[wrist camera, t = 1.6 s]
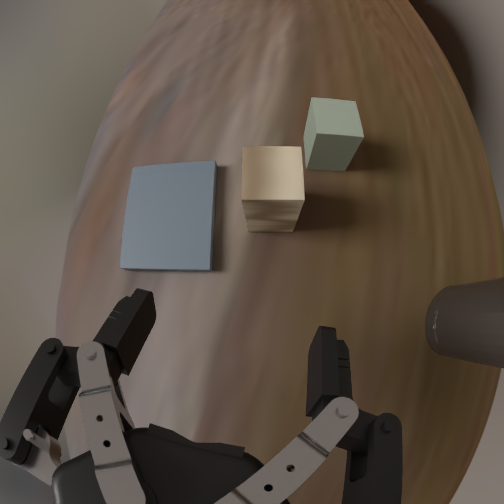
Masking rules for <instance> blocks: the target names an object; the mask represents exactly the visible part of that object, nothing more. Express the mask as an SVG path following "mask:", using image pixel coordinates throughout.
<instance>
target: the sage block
mask: <svg viewBox="0 0 504 504" xmlns="http://www.w3.org/2000/svg"><path fill="white" fill-rule="evenodd" d="M363 138H364V135H363V130H362V126H361V122H360V117H359V113H358V109H357V105H356V102H355V101H347V100H338V99H327V98H313V97H312V98H311V103H310V108H309V113H308V117H307V122H306V127H305V132H304V148H305V159H306V170H332V171H345V170H346V169H347V167H348V165H349V163H350V162H351V160H352V158H353V156H354V154H355V153H356V151H357V149H358V147H359V145H360V144H361V142H362V140H363Z"/></svg>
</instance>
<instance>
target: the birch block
mask: <svg viewBox="0 0 504 504" xmlns="http://www.w3.org/2000/svg"><path fill="white" fill-rule="evenodd" d="M304 201H305V195H304V179H303V165H302V153H301V147H286V146H251V147H243V163H242V204H243V208H244V213H245V217H246V222H247V227H248V231H249V232H293V230H294V227H295V225H296V222H297V219H298V217H299V214H300V211H301V209H302V206H303V203H304Z"/></svg>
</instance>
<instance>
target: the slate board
mask: <svg viewBox="0 0 504 504" xmlns="http://www.w3.org/2000/svg"><path fill="white" fill-rule="evenodd" d="M216 178H217V164H216V161H198V162H183V163H171V164H160V165H150V166H141V167H133V169H132V174H131V180H130V186H129V192H128V198H127V205H126V212H125V219H124V228H123V236H122V246H121V258H120V268H121V269H125V270H159V271H212V267H213V237H214V214H215V195H216Z"/></svg>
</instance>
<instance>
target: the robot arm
mask: <svg viewBox="0 0 504 504" xmlns="http://www.w3.org/2000/svg"><path fill="white" fill-rule="evenodd" d="M155 320H156V309H155V303H154V297H153V293H152V292H151V291H147V290H143V289H139V288H138V289H136V290H135V291H134V293H133V294H132V296H131V297H128V296H126V297H124V298H123V299H122V300H120V301H119V302H118V303H117V304H116V306H115V307H114V309H113V311H112V312H111V313H110V315H109V318H107V320H106V321H105V323H104V324H103V326H102V327H101V329H100V330H99V332H98V334H97V335H96V337H95V338H94V340H93V341H90V342H86V343H84V344H82V345H81V346H80V347H69V346H63V344H62V342H61V341H60V340H59V339H56V338H49V339H47V340H45V341H44V342H43V343H42V344H41V346H40V348H39V349H38V351H37V352H36V354H35V356H34V357H33V359H32V361H31V363H30V365H29V366H28V368H27V370H26V372H25V373H24V375H23V377H22V379H21V381H20V383H19V385H18V387H17V388H16V390H15V392H14V394H13V397H12V399H11V401H10V403H9V405H8V407H7V409H6V411H5V413H4V415H3V418H2V420H1V422H0V456H1V457H3V458H4V459H6V460H8V461H10V462H11V463H12V464H15V465H16V466H18V467H20V468H22V469H25V470H27V471H28V472H30V473H31V474H33V475H34V476H36V477H37V478H39V479H40V480H42V481H43V482H45V483H47V484H48V485H50V486H51V487H52V493H53V499H54V504H290V503H289V501H288V500H287V497H288V496H289V495H290V494H291V493H293V492H294V491H295V490H296V489H297V488H298V487H299V486H300V485H301V484H302V483H303V482H304V481H305V480H306V479H307V478H308V477H309V476H310V475H311V474H312V473H313V472H314V471H315V470H316V469H317V468H318V467H319V466H320V465H321V464H322V462H323V461H324V460H325V459H326V458H327V456H328V454H329V452H330V451H331V450H332V449H333V448H334V447H335V446H337V447H339V448H342V449H345V450H347V462H346V472H345V482H344V490H343V498H342V504H401V494H402V426H401V422H400V420H399V419H398V417H397V416H395V415H393V414H391V413H383V414H381V415H379V416H375V415H372V414H370V413H367V412H364V411H362V410H361V409H359V408H358V407H357V405H356V404H355V402H354V401H353V398H352V385H351V371H350V361H349V349H348V347H347V346H346V344H345V342H344V340H337V337H336V329H335V328H332V327H325V326H319V327H318V330H317V332H316V334H315V336H314V339H313V341H312V343H311V346H310V349H309V354H308V380H307V401H306V416H309V417H312V422H311V423H310V424H309V425H308V426H307V427H306V428H305V429H304V430H303V431H302V432H301V433H300V434H299V435H298V436H297V437H296V438H295V439H294V440H293V441H292V442H290V443H289V444H288V445H287V446H286V447H285V448H284V449H283V450H282V451H281V452H280V453H278V454H277V455H276V456H275V457H274V458H273V459H272V460H271V461H269V462H268V463H267V464H266V465H265V466H264V465H263V463H261V462H260V461H259V460H258V459H257V458H255V457H254V456H252V455H250V454H248V453H246V452H244V449H245V447H239V446H234V445H229V444H224V443H195V442H192V441H190V440H188V439H187V438H185V437H183V436H181V435H179V434H178V433H176V432H174V431H172V430H169V429H166V428H163V427H160V426H157V425H154V424H151V423H150V425H149V428H135V426H134V423H133V421H132V419H131V417H130V415H129V412H128V409H127V406H126V403H125V399H124V396H123V392H122V389H121V385H120V381H119V377H120V375H121V373H123V374H126V375H128V376H129V374H130V372H131V370H132V367H133V365H134V363H135V361H136V359H137V357H138V355H139V353H140V351H141V349H142V347H143V345H144V343H145V341H146V339H147V337H148V335H149V333H150V331H151V329H152V328H153V326H154V323H155ZM426 331H427V337H428V340H429V343H430V345H431V346H432V348H433V349H434V350H435V351H436V352H437V353H438V354H441V355H444V356H448V357H452V358H457V359H461V360H465V361H470V362H475V363H480V364H485V365H490V366H495V367H500V368H504V277H503V278H498V279H493V280H487V281H481V282H476V283H469V284H463V285H456V286H450V287H447V288H444V289H443V290H442V291H440V292H439V293H438V294H437V295H436V297H435V298H434V300H433V301H432V303H431V306H430V308H429V311H428V315H427V322H426ZM80 387H81V390H82V392H81V393H80V394H79V402H80V407H81V412H82V417H83V422H84V426H85V431H86V435H87V439H88V442H89V446H90V450H89V451H87V452H85V453H83V454H81V455H79V456H77V457H75V458H73V459H71V460H69V461H67V462H65V463H63V464H61V461H60V457H61V447H60V444H59V442H58V441H57V440H58V438H59V435H60V433H61V430H62V428H63V425H64V423H65V420H66V418H67V415H68V413H69V411H70V408H71V406H72V404H73V401H74V399H75V397H76V395H77V392H78V390H79V388H80Z"/></svg>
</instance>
